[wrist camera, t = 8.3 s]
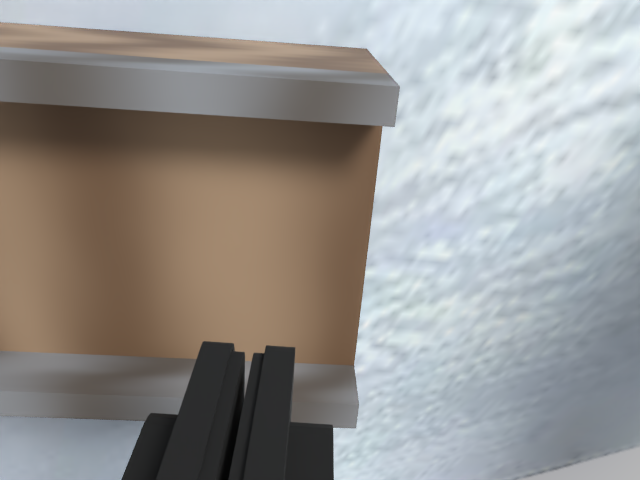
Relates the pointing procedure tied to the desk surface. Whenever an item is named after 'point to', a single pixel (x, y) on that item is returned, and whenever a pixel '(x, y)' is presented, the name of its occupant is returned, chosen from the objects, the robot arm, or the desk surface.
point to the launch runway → (181, 215)
